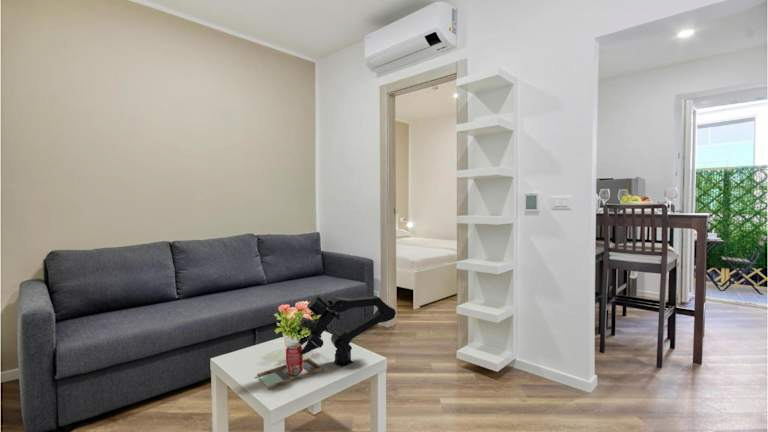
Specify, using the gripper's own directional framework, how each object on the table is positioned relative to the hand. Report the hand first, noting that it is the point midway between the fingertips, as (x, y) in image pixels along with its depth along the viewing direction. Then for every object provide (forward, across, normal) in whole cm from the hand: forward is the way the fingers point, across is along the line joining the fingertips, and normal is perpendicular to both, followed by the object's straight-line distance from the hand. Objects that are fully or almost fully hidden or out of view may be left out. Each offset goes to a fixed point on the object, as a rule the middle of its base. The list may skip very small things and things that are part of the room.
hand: (299, 350), depth 159 cm
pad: (+15, +3, -2) cm, 16 cm away
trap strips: (+8, 0, +6) cm, 9 cm away
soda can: (+8, 0, +5) cm, 10 cm away
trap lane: (+10, 0, +4) cm, 10 cm away
